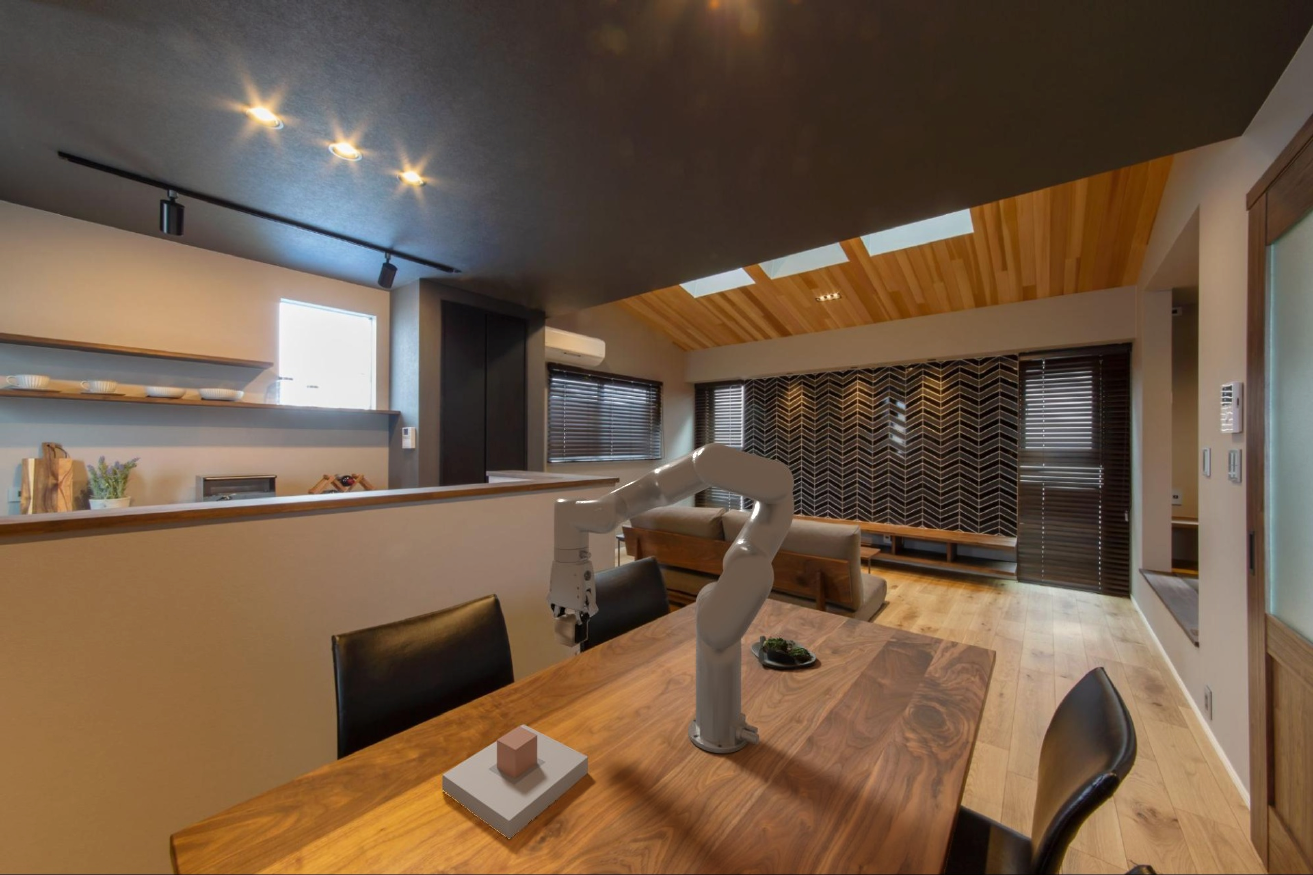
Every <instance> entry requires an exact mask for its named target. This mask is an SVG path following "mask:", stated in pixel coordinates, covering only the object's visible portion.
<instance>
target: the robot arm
mask: <svg viewBox="0 0 1313 875" xmlns="http://www.w3.org/2000/svg"><path fill="white" fill-rule="evenodd" d="M794 486H795V480H794V475H793V473H792V471H791V470H790V468H789V467H787V465H785V464H784V463H783V462H780V461H777V460H774V459H771V458H767V457H764V456H759V455H757V454H753V453H749V452H746V451H744V450H740V449H737V448H734V447H731V446H728V445H726V444H723V443H718V442H711V443H707V444H704V445H703V446H699V447H698V448H696V449H694V450H691V451H690V452H688V453H686V454H683V455H681V456H679V457H677V458H675V459H673V460H671V461H669V462H667V463H665V464H663V465H660V466H658V467H657V468H654V469H652V470H651V471H649V472H648V473H646V474H644V475H643V476H642V477H640V478H638V479H637V480H634V481H632V482H630V483H628V484H626V485H624V486H621V487H619V488H617V489H616V490H615V489H614V490H613V491H611V492H609V493H607V494H604V495H602V496H600V497H599V498H596V499H592V500H591V499H590V500H587V498H585V497H581V496H566V497H560V498H557V499H556V500H555V501H554V504H553V559H552V563H551V568H550V574H549V575H550V576H549V591H548V593H547V596H546V597H545V600H546V601H547V603H548V604H549V605H550V608H551V611H552V612H553V617H554V619H555V618H558V617H560V616H562V615H565V614H567V610H573V611H574V613H575V616H576V621H577V624H575V643H577V645H579V644H581V643H583V642H585V641H587V640H588V639H587V622H590V619H591V618H592V617H593V616H594V615H596V614H597V613H598V612H599V607H598V605H597V603H596V601H597V600H596V580H595V571H594V567H593V563H592V560H590V558H591V557H592V553H591V552H590V551H589V550H590V541H589V540H590V537H589V536H590V534H596V535H607V534H610V533H612V532H614V531H615V530H617V529H618V527H619V526H621V524H623V523H625V522H627V521H629V520H632V518H635V517H637V516H639V515H641V514H644V513H645V512H648V511H651V510H653V509H656V508H664V507H669V506H673V505H675V504H677V503H679V502H682V501H684V500H685V499H687V498H690V497H691V496H694V495H695V494H697V493H700V492H702V491H705V490H707V489H709V488H711V487H713V488H716V489H718V490H722V491H724V492H728V493H730V494H733V495H738V496H740V497H743V498H747V499H750V500H753V505H752V509H751V511H750V513H749V516H748V517H747V519H746V521H745V523H744V525H743V527H742V528H741V529H740V531H739V533H738V535H737V536H736V537H735V539H734V541H733V542H732V544H731V545H730V547H729V548H728V550H727V551H726V552H725V554H724V556H723V559H722V570H723V571H722V573H721V574H720V576H719V577H718V580H717V581H713V582H710V583H708V584H707V583H706V585H704V586H703V587H702V588H701V590H699V591H698V592H699V593H698V594H697V596H696V599H695V600H696V601H695V613H694V614H695V717H694V718H692V719H691V721H690V722H689V724H688V727H687V730H688V734H687V735H688V738H689V739H690V741H692V743H693V744H694V745H695V746H697V747H698V748H700V749H702V750H703V751H706V752H710V753H715V754H730V753H731V754H732V753H734V752H737V751H740V750H741V749H743V748H744V747H745V746H746V745H747V743H750V744H752V745H755V746H758V744H759V741H760V735H759V733H758V729H759V728H758V727H757V726H755V725H750V724H748V723H747V722H746V719H747V718H746V714H744V713H742V638H743V637H744V635H746V633H747V631H748V630H749V628H750V626H752V623H753V622H754V620H755V618H756V617H757V615H758V614H759V612H760V611H761V609H762V607H763V605H764V604H765V602H766V601H767V599H768V597H769V595H770V593H771V591H772V589H773V584H774V582H775V574H774V573H775V571H774V568H773V565H772V562H773V560H774V558H775V556H776V555H777V552H779V550H780V548H781V546H782V545H783V542H784V540H785V539H786V538H787V535H788V533H789V531H790V529H791V526H792V523H793V520H794V515H795V514H794V513H795V498H794V493H793V490H794ZM581 615H582V616H581ZM586 639H587V640H586ZM584 640H585V641H584ZM582 641H583V642H582ZM580 642H581V643H580ZM578 643H579V644H578Z"/></svg>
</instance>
